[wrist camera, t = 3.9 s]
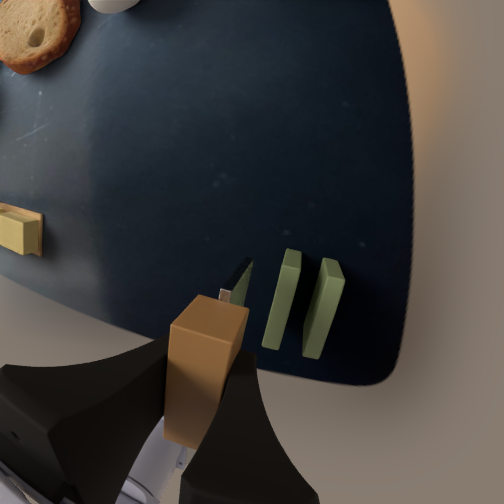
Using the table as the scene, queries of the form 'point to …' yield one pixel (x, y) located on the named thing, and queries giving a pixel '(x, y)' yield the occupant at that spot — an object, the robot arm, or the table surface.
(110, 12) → the off-white sphere
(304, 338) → the green slotted block
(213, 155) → the table surface
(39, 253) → the board
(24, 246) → the butter block
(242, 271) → the butter cutter
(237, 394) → the robot arm
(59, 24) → the slice of bread
